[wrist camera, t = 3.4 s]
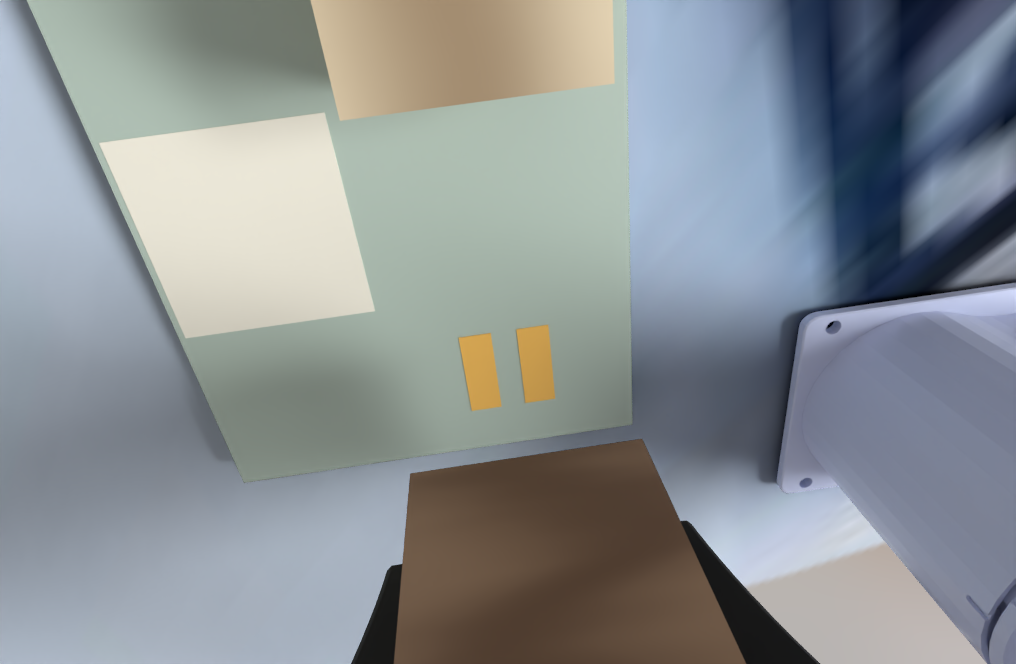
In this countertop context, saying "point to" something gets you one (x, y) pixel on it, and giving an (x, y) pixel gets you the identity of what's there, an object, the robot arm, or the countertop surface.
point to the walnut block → (554, 566)
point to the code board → (359, 236)
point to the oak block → (460, 51)
